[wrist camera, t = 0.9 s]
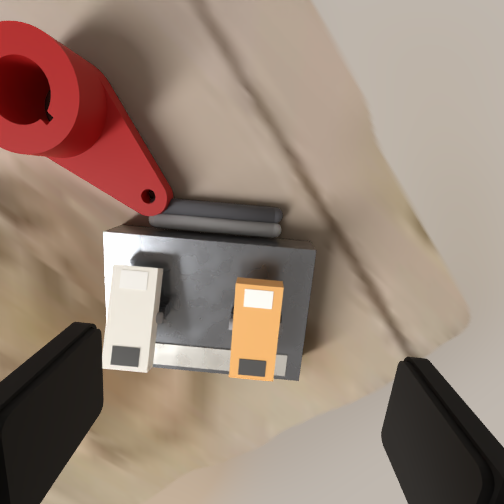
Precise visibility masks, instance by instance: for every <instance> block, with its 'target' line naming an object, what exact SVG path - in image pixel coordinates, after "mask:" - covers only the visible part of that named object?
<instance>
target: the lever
mask: <svg viewBox="0 0 504 504" xmlns="http://www.w3.org/2000/svg"><path fill="white" fill-rule="evenodd" d="M49 90H51V100H50V105H49V108H48V110H47V112H48V113H49V114H50V115H51V116H52V117H53V119H52V120H51V121H50V122H49V120H48V118H47V116H46V112H45V99H46V96H47V93H48V91H49ZM0 147H1V148H3V149H5V150H8V151H11V152H14V153H19V154H27V155H36V156H46V157H47V158H49V159H51V160H52V161H54V162H56V163H57V164H59V165H61V166H62V167H64V168H66V169H67V170H69V171H71V172H72V173H74V174H76V175H77V176H79V177H80V178H82V179H84V180H85V181H87V182H89V183H90V184H92V185H94V186H95V187H97V188H99V189H100V190H102V191H104V192H105V193H107V194H108V195H110V196H112V197H113V198H115V199H117V200H118V201H120V202H122V203H123V204H125V205H127V206H128V207H130V208H132V209H133V210H135V211H137V212H138V213H140V214H142V215H145V216H155V215H158V214H161V213H163V212H164V211H165V210H166V209H167V207H168V205H169V203H170V200H171V199H172V198H173V192H172V189H171V187H170V185H169V184H168V182H167V180H166V179H165V177H164V175H163V174H162V172H161V170H160V168H159V167H158V165H157V163H156V162H155V160H154V158H153V157H152V155H151V153H150V151H149V150H148V148H147V146H146V145H145V143H144V141H143V139H142V138H141V136H140V134H139V133H138V131H137V129H136V128H135V126H134V124H133V122H132V121H131V119H130V117H129V116H128V114H127V112H126V110H125V109H124V107H123V105H122V104H121V102H120V100H119V99H118V97H117V95H116V93H115V92H114V90H113V88H112V87H111V85H110V83H109V82H108V80H107V79H106V77H105V76H104V75H103V74H102V73H101V72H100V71H99V70H98V69H97V68H96V67H95V66H94V65H92V64H91V63H89V62H88V61H86V60H85V59H83V58H82V57H80V56H79V55H77V54H76V53H74V52H73V51H71V50H70V49H69V48H67V47H66V46H64V45H63V44H61V43H60V42H58V41H57V40H55V39H54V38H52V37H51V36H49V35H48V34H46V33H45V32H43V31H42V30H40V29H38V28H36V27H34V26H32V25H30V24H26V23H23V22H18V21H1V22H0ZM151 190H152V191H153V192H154V193H155V201H154V202H153V203H151V202H150V200H151V199H150V197H149V193H150V191H151Z"/></svg>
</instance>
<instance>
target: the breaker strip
mask: <svg viewBox="0 0 504 504" xmlns="http://www.w3.org/2000/svg"><path fill="white" fill-rule="evenodd" d="M103 237H104V265H105V292H106V320H107V312H108V303H109V295H110V286H111V277H112V269H113V264H117V265H129V266H141V267H152V268H163V276H162V286H161V295H160V305H159V312H163V321H162V323H161V324H160V323H157V333H156V342H155V352H154V361H153V367H157V368H168V369H179V370H189V371H200V372H210V373H221V374H229V370H230V356H231V342H232V330H229V320H230V319H233V314H234V300H235V287H236V280H237V277H241V278H252V279H263V280H275V281H283V286H284V289H283V298H282V307H281V316H280V323H282V324H283V329H282V335H279V334H278V343H277V352H276V360H275V369H274V379H284V380H295V381H299V375H300V367H301V360H302V352H303V345H304V338H305V330H306V323H307V316H308V308H309V301H310V293H311V286H312V279H313V271H314V264H315V257H316V249H315V248H314V246H313V245H312V243H311V242H310V241H302V240H291V239H279V238H268V237H256V236H245V235H233V234H222V233H210V232H199V231H187V230H176V229H164V228H153V227H142V226H130V225H120V226H117V227H115V228H112V229H109V230H107V231H104V232H103Z"/></svg>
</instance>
